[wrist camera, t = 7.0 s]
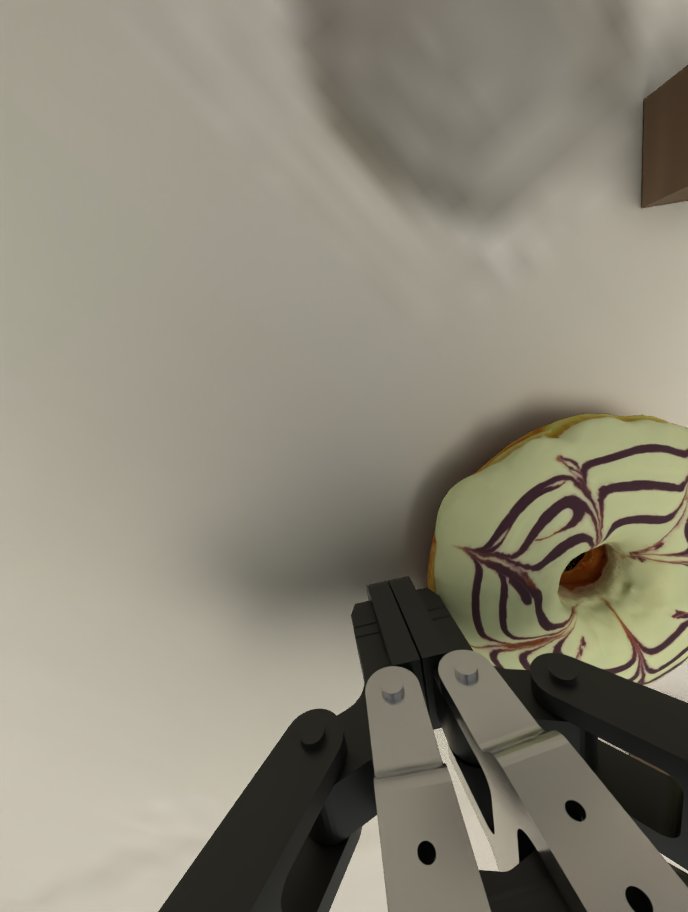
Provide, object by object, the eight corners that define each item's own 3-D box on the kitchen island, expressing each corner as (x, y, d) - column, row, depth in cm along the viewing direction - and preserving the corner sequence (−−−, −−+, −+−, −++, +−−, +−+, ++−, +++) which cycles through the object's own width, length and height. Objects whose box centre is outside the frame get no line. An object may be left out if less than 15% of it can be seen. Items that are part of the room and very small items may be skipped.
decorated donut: (372, 481, 13) (399, 523, 10) (638, 361, 13) (765, 357, 10) (462, 687, 16) (510, 782, 12) (683, 586, 16) (797, 649, 12)
